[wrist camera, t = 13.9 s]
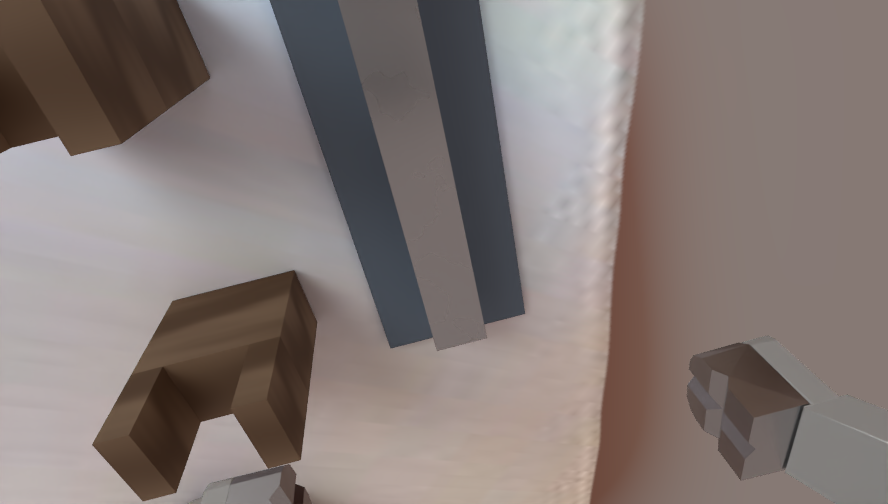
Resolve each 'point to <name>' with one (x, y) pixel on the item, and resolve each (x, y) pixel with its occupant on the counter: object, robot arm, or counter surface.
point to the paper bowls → (196, 501)
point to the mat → (362, 168)
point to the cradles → (187, 320)
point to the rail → (416, 160)
